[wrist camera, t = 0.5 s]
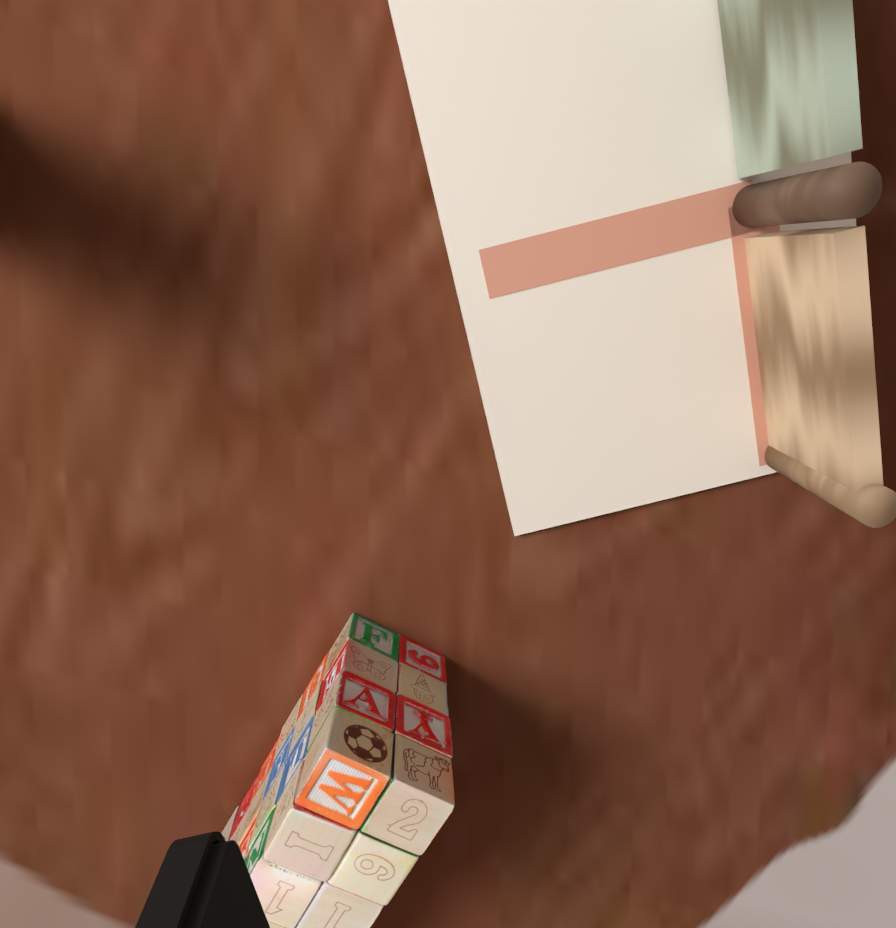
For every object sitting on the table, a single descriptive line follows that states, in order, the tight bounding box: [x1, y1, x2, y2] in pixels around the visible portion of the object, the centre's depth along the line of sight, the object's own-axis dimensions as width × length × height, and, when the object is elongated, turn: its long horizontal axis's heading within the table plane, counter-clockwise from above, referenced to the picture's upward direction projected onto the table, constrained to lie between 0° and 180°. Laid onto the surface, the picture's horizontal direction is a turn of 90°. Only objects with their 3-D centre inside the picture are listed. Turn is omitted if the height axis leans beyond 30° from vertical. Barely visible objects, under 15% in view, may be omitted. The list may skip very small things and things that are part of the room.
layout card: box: [388, 0, 856, 536], centre depth 35 cm, size 29×20×1 cm
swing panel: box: [717, 0, 863, 179], centre depth 28 cm, size 12×2×8 cm, turn 14°
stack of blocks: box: [221, 613, 455, 928], centre depth 38 cm, size 21×6×12 cm, turn 150°
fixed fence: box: [732, 162, 896, 528], centre depth 32 cm, size 15×2×9 cm, turn 14°
